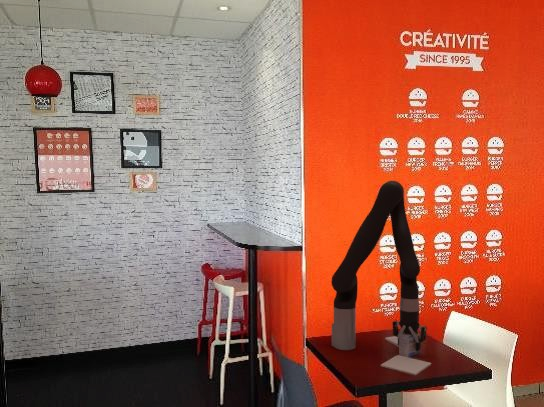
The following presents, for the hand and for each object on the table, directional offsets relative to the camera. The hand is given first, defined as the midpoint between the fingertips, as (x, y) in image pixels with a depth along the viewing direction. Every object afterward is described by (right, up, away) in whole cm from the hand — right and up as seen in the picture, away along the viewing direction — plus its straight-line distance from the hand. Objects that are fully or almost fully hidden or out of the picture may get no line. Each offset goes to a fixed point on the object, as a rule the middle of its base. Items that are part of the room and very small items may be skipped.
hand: (409, 348), depth 202 cm
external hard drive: (0, -2, +14) cm, 15 cm away
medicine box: (0, -3, 0) cm, 3 cm away
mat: (-4, -3, -12) cm, 13 cm away
